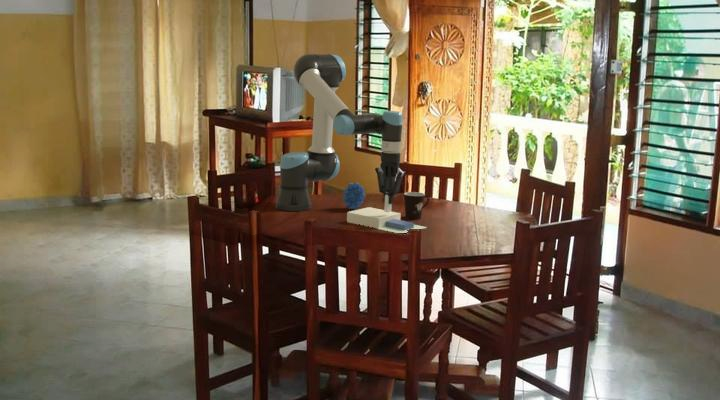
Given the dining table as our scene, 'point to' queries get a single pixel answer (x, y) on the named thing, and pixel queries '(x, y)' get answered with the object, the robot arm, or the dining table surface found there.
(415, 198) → the coffee mug
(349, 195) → the grapes
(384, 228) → the mat
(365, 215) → the cream flat block
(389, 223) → the blue rectangular block
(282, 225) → the dining table surface
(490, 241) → the dining table surface
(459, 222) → the dining table surface
